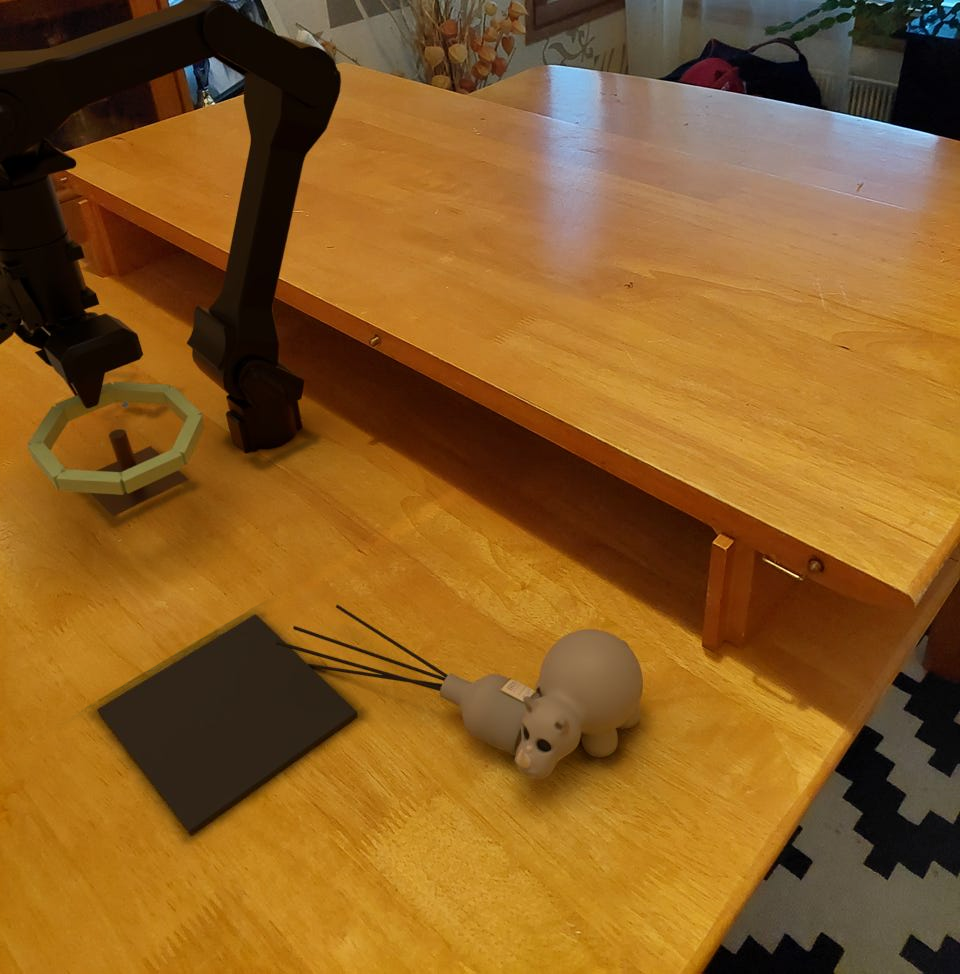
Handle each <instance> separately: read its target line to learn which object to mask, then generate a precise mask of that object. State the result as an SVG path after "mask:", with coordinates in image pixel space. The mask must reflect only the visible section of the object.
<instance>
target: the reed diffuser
mask: <svg viewBox="0 0 960 974" xmlns="http://www.w3.org/2000/svg"><path fill="white" fill-rule="evenodd" d="M335 608H336V609H338V610H339V611H341V612H342V613H344V614H345V615H347V616H349V617H351V618H352V619H353V620H354V621H356V622H357V623H359V624H361V625H363V627H366V628H367V629H369V630H370V631H372V632H373V633H375V634H376V635H378V636H380V637H381V638H383V639H385V640H386V641H388V642H389V643H391V644H392V645H394V646H395V647H397V648H398V649H400V650H402V651H403V652H405V653H406V654H407V655H409V656H411V657H412V658H414V659H415V660H417V661H419V662H420V663H422V664H423V665H425V666H426V667H428V668H429V669H431V670H433V671H434V672H435V673H433V672H430V671H427V670H424V669H421V668H418V667H415V666H413V665H410V664H407V663H404V662H401V661H398V660H395V659H392V658H390V657H386V656H384V655H380V654H378V653H375V652H372V651H369V650H366V649H364V648H360V647H358V646H355V645H351V644H349V643H347V642H343V641H339V640H337V639H334V638H331V637H328V636H326V635H323V634H320V633H316V632H314V631H311V630H308V629H304V628H303V627H299V626H296V625H293V627H292V629H293V630H295V631H298V632H300V633H303V634H307V635H310V636H312V637H316V638H318V639H321V640H323V641H326V642H328V643H333V644H335V645H338V646H341V647H345V648H347V649H350V650H353V651H356V652H358V653H361V654H364V655H367V656H370V657H373V658H376V659H379V660H382V661H384V662H387V663H390V664H394V665H395V666H399V667H402V668H405V669H407V670H411V671H414V672H416V673H420V674H422V675H425V676H427V677H430V678H434V679H437V680H440V681H443V682H442V683H439V682H434V681H433V682H432V681H426V680H421V679H419V680H418V679H412V678H410V677H409V678H408V677H405V676H402V675H398V674H395V673H391V672H389V671H385V670H381V669H377V668H374V667H370V666H366V665H363V664H360V663H356V662H352V661H349V660H345V659H342V658H339V657H336V656H332V655H329V654H324V653H322V652H318V651H314V650H310V649H307V648H303V647H300V646H296V645H293V644H289V643H287V642H285V643H283V642H279V641H277V642H276V644H277V645H280V646H284V647H287V648H291V649H292V650H294V651H297V652H302V653H305V654H309V655H311V656H315V657H319V658H322V659H326V660H329V661H332V662H336V663H340V664H344V665H346V666H349V667H354V668H358V669H361V670H365V671H360V670H353V669H347V668H340V667H332V666H327V665H321V664H313V663H307V664H308V665H309V666H310V667H311V668H312V669H318V670H325V671H331V672H338V673H345V674H352V675H358V676H365V677H371V678H377V679H385V680H391V681H397V682H403V683H410V684H414V685H417V686H421V687H424V688H427V689H430V690H434V691H438V692H439V697H440V698H442V699H443V700H445V701H448V702H449V703H451V704H452V705H453V704H454V705H455V706H456V707H459V708H460V710H461V715H462V721H463V725H464V727H465V730H466V731H467V733H469V735H471V736H473V737H474V738H475V739H477V740H480V741H482V742H484V743H485V744H488V745H490V746H492V747H495V748H497V749H499V750H501V751H502V752H503V751H504V752H506V753H508V754H511V755H513V756H516V751H517V749H518V747H519V745H520V742H521V738H522V735H521V729H520V719H521V715H522V713H523V711H524V710H525V703H524V701H523V698H524V697H525V696H529V697H531V698H533V699H534V700H535V699H537V698H539V697H542V695H541V691H540V684H539V679H538V680H537V681H536V683H535V689H534V688H532V687H529V686H527V685H526V684H523V683H522V682H520V681H518V680H516V679H515V678H513V677H507V676H505V675H502V674H499V673H489V674H486V675H484V676H483V677H481V678H479V679H476V680H475V681H473V682H471V681H469V680H466V679H464V678H462V677H460V676H458V675H455V674H454V673H449V674H448V673H445V672H444V671H442V670H441V669H439V668H437V666H435V665H433V664H432V663H430V662H428V661H427V660H425V659H424V658H422V657H421V656H420V655H417V654H416V653H414V652H413V651H411V650H410V649H409V648H407V647H405V646H404V645H402V644H400V643H399V642H397V641H395V640H394V639H392V638H391V637H389V636H388V635H386V634H384V633H383V632H381V631H380V630H378V629H377V628H375V627H374V626H372V625H370V624H368V623H367V622H365V621H364V620H362V619H361V618H359V617H358V616H356V615H354V614H353V613H352V612H350V611H348V610H346V609H345V608H344V607H342V606H340V605H339V604H336V605H335ZM366 671H367V672H366Z"/></svg>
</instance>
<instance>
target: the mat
mask: <svg viewBox="0 0 960 974" xmlns="http://www.w3.org/2000/svg"><path fill="white" fill-rule="evenodd" d="M277 641H279V642H283V643H286V642H285V640H283V639H282V637H280V636H279V635H278V634H277V633H276V632H275V631H274V630H273V629H272V628H271V627H270V626H269V625H268V624H267V623H266V622H264V621H263V619H262V618H261V617H260V616H258V614H256V613H255V614H253V615H251V616H250V617H249V618H246V619H245V620H243V621H242V622H241V623H238V624H237V625H235V626H233V627H231V628H230V629H228V630H226V631H225V632H223V633H221V634H220V635H218V636H217V637H215V638H213V639H212V640H210V641H208V642H206V643H205V644H204V645H202V646H200V647H198V648H197V649H195V650H193V651H192V652H190V653H189V654H187V655H185V656H183V657H182V658H180V659H178V660H177V661H175V662H173V663H171V664H170V665H169V666H167V667H165V668H163V669H161V670H160V671H158V672H157V673H155V674H153V675H151V676H149V677H148V678H147V679H145V680H144V681H142V682H140V683H138V684H136V685H135V686H133V687H132V688H130V689H128V690H126V691H125V692H123V693H122V694H120V695H118V696H117V697H115V698H113V699H112V700H110V701H108V702H106V703H105V704H103V705H102V706H100V707H98V708H97V712H98V714H99V715H100V717H101V719H103V721H104V723H105V724H106V725H107V727H108V728H109V729H110V731H111V732H112V733H113V735H114V736H115V737H116V739H117V740H118V741H119V742H120V744H121V745H122V746H123V748H124V749H125V750H126V752H127V753H128V754H129V756H130V757H131V758H132V760H133V761H134V762H135V764H136V765H137V767H138V768H139V769H140V770H141V772H142V773H143V774H144V776H145V777H146V778H147V780H148V781H149V782H150V784H151V785H152V786H153V788H154V789H155V790H156V791H157V793H158V795H160V796H161V798H162V799H163V800H164V802H165V803H166V804H167V806H168V807H169V809H170V810H171V811H172V813H173V814H174V815H175V817H176V818H177V819H178V821H179V822H180V823H181V824H182V826H183V827H184V828H185V830H186V832H188V834H189V835H190V836H192V835H194V834H195V833H196V832H198V831H199V830H200V829H202V828H204V827H205V826H206V825H208V824H209V823H211V822H212V821H214V820H215V819H216V818H218V817H219V816H220V815H222V814H223V813H225V812H226V811H228V810H229V809H230V808H231V807H233V806H234V805H236V804H237V803H239V802H240V801H241V800H243V799H244V798H245V797H247V796H248V795H250V794H251V793H252V792H254V791H255V790H257V789H259V787H261V786H262V785H264V784H265V783H267V782H268V781H270V779H273V778H274V777H275V776H276V775H278V774H279V773H281V772H283V770H285V769H286V768H287V767H289V766H290V765H292V764H293V763H295V762H296V761H297V760H299V759H300V758H301V757H303V756H305V755H306V754H307V753H309V752H310V751H312V750H313V749H315V748H316V747H317V746H319V745H320V744H322V742H324V741H325V740H327V739H328V738H329V737H330V736H332V735H334V734H335V733H337V732H338V731H339V730H341V729H342V728H344V727H345V726H346V725H348V724H349V723H350V722H352V721H353V720H355V719H356V718H357V717H358V716H359V715H358V711H357V710H356V709H355V708H354V707H353V706H352V705H351V704H350V703H349V702H348V701H347V700H345V698H343V696H341V695H340V694H339V692H337V691H336V690H335V689H334V688H333V687H332V686H331V685H330V684H329V683H328V682H327V681H326V680H325V679H324V678H323V677H321V675H319V673H317V671H315V669H314V668H311V667H310V666H309V665H308V664H309V663H307V662H306V661H305V660H304V658H302V657H301V656H300V655H299V654H298V653H297V652H296V650H294V649H291V648H287V647H284V646H280V645H277V644H276V642H277Z"/></svg>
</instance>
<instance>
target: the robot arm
mask: <svg viewBox="0 0 960 974" xmlns="http://www.w3.org/2000/svg"><path fill="white" fill-rule="evenodd" d="M212 58H214V59H215V60H217V61H218V62H220V63H222V64H223V65H224V66H226V67H227V68H229V69H230V70H232V71H233V72H236V73H237V74H239V75H241V76H243V77H244V81H243V106H244V111H245V116H246V120H247V125H248V130H249V137H250V143H249V144H250V145H249V149H248V154H247V159H246V164H245V165H246V166H245V171H244V174H243V181H242V184H241V185H242V186H241V191H240V196H239V201H238V207H237V212H236V217H235V221H234V226H233V227H234V228H233V231H232V232H233V233H232V237H231V243H230V248H229V252H228V258H227V264H226V269H225V274H224V277H223V284H222V289H221V291H220V294H219V295H218V297H217V298H216V299H215V300H214V302H213V303H212V304H211V305H210V306H209V308H207V307H203V306H200V305H197V306H195V308H194V311H193V327H192V331H191V334H190V336H189V338H188V339H187V341H186V345H188V347H190V348H191V349H192V350H191V357H192V360H193V362H194V363H195V365H196V367H197V368H198V369H199V370H200V372H202V373H203V375H205V376H206V377H207V378H209V379H210V380H211V381H212V382H214V383H215V384H216V385H217V386H218V387H220V388H221V389H222V390H223V391H224V392H225V393H226V394H228V395H226V398H225V399H226V402H227V406H228V411H226V412H225V417H226V422H227V425H228V428H229V429H228V430H229V434H230V438H231V441H232V445H234V446H235V447H236V448H237V449H239V450H240V451H241V452H243V453H244V454H250V453H255V452H258V451H260V450H262V451H263V450H264V451H265V450H266V451H267V450H273V449H278V448H280V447H283V446H285V445H288V444H289V443H290V442H291V441H292V440H294V439H295V437H296V436H297V433H298V432H299V431H300V430H302V429H303V428H304V427H303V426H304V425H303V421H302V417H301V410H300V405H299V401H301V399H302V398H303V392H304V387H305V380H304V379H303V377H301V376H299V374H297V373H296V372H294V371H292V370H291V369H290V368H289V367H287V366H286V365H284V363H282V362H281V361H280V360H279V353H280V339H279V334H278V330H277V324H276V319H275V314H274V302H275V297H276V292H277V288H278V284H279V278H280V274H281V269H282V266H283V260H284V255H285V250H286V246H287V242H288V237H289V232H290V228H291V223H292V218H293V214H294V209H295V203H296V201H297V200H296V199H297V195H298V190H299V187H300V181H301V177H302V172H303V169H304V168H303V167H304V164H305V159H306V158H307V155H308V154H309V152H310V151H311V150H312V148H313V147H314V146H315V145H316V143H317V142H318V141H319V140H320V138H321V137H322V136H323V134H324V133H325V132H326V131H327V129H328V127H329V126H328V125H329V124H330V121H331V118H332V116H333V113H334V110H335V108H336V105H337V103H338V100H339V97H340V94H341V87H342V76H341V72H340V71H339V69H338V67H337V65H336V62H335V60H334V59H333V58H332V56H331V55H330V54H329V53H328V52H327V51H326V50H323V49H322V48H320V47H318V46H315V45H313V44H309V43H305V42H303V41H300V40H297V39H293V38H290V37H288V36H284V35H278V34H277V33H275V32H273V31H271V29H268V28H266V27H264V26H262V25H260V24H259V23H257V22H255V21H253V20H252V19H250V18H248V17H247V16H246V15H244V14H243V13H241V12H239V11H238V10H237V9H236V8H235V7H234V6H233V5H232V4H230V3H229V2H227V1H224V0H181V1H180V2H178V3H175V4H172V5H170V6H167V7H163V8H161V9H159V10H155V11H153V12H150V13H147V14H144V15H141V16H137V17H135V18H132V19H129V20H127V21H124V22H121V23H119V24H115V25H112V26H109V27H106V28H104V29H101V30H97V31H95V32H92V33H89V34H86V35H83V36H81V37H78V38H75V39H72V40H70V41H66V42H64V43H61V44H58V45H55V46H52V47H49V48H42V49H33V50H14V51H13V50H11V51H10V50H9V51H0V346H1V345H2V344H4V342H6V341H7V340H8V339H10V338H11V337H13V336H14V334H15V335H16V336H17V337H18V338H19V339H20V340H21V341H22V342H23V343H25V344H28V345H30V346H32V347H35V348H37V349H40V350H37V351H35V352H34V353H35V354H36V355H37V356H38V357H39V358H40V360H42V361H43V362H44V363H45V364H46V365H47V366H49V367H52V368H53V369H54V371H55V372H56V373H57V374H58V375H59V376H60V377H61V378H62V379H63V381H64V382H65V384H66V385H67V386H68V388H69V389H70V391H71V392H72V394H73V395H74V396H77V395H78V397H79V398H80V400H81V401H82V403H83V405H84V406H85V407H86V408H87V409H89V408H92V407H94V406H96V405H98V403H99V399H100V394H101V389H102V385H104V379H105V375H106V373H108V372H112V371H114V370H116V369H119V368H122V367H125V366H127V365H129V364H132V363H134V362H137V361H140V360H141V359H142V358H143V356H144V351H143V348H142V345H141V342H140V338H139V335H138V333H137V332H135V331H134V330H133V329H132V328H130V327H129V326H128V325H127V324H126V323H124V322H123V321H121V320H120V319H119V318H116V317H114V316H112V315H110V314H108V313H102V314H98V313H97V312H94V311H88V312H87V311H86V310H88V309H90V308H93V307H97V306H99V305H100V301H99V298H98V296H97V293H96V291H94V290H93V289H92V288H90V287H89V286H88V285H87V283H86V281H85V277H84V274H83V272H82V268H81V266H80V262H79V261H80V260H82V259H85V257H86V256H85V253H84V251H83V247H82V245H81V244H79V243H78V242H76V241H75V240H74V239H73V238H72V237H71V234H70V231H69V228H68V226H67V225H68V224H67V222H66V218H65V216H64V213H63V210H62V206H61V203H60V201H59V197H58V194H57V191H56V188H55V185H54V182H53V178H52V175H54V174H57V173H61V172H65V171H68V170H72V169H75V168H76V167H77V161H76V159H75V158H73V157H72V156H70V155H69V154H67V153H66V152H64V151H63V150H61V149H60V148H58V147H55V146H54V145H53V144H52V143H51V142H50V141H49V140H48V139H47V138H48V137H51V136H52V135H53V134H55V133H56V132H58V131H59V130H60V128H61V127H63V125H65V124H66V122H67V121H69V120H70V118H71V117H72V116H73V115H75V114H76V113H78V112H79V111H80V110H82V109H84V108H86V107H87V106H89V105H91V104H94V103H97V102H100V101H102V100H104V99H107V98H110V97H112V96H115V95H118V94H120V93H123V92H125V91H128V90H131V89H134V88H137V87H139V86H141V85H144V84H146V83H149V82H152V81H154V80H157V79H160V78H162V77H166V76H167V75H170V74H173V73H175V72H179V71H181V70H183V69H186V68H188V67H191V66H194V65H196V64H198V63H202V62H204V61H207V60H210V59H212Z"/></svg>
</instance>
